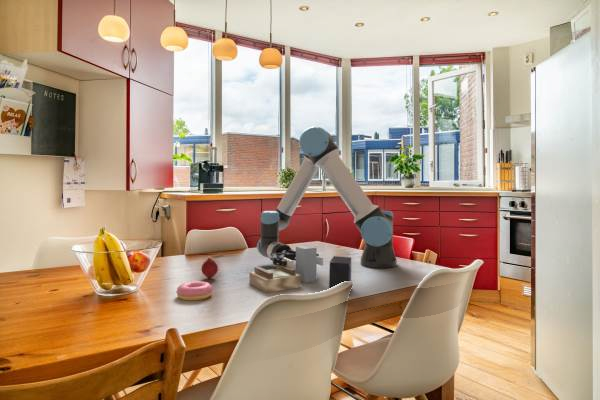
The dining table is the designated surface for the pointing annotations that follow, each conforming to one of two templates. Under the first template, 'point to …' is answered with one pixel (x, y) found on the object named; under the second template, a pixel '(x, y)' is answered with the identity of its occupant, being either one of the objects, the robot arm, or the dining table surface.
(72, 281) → the dining table surface
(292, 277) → the stand
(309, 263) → the tall grey prism
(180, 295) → the doughnut
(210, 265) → the onion
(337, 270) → the small box
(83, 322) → the dining table surface
